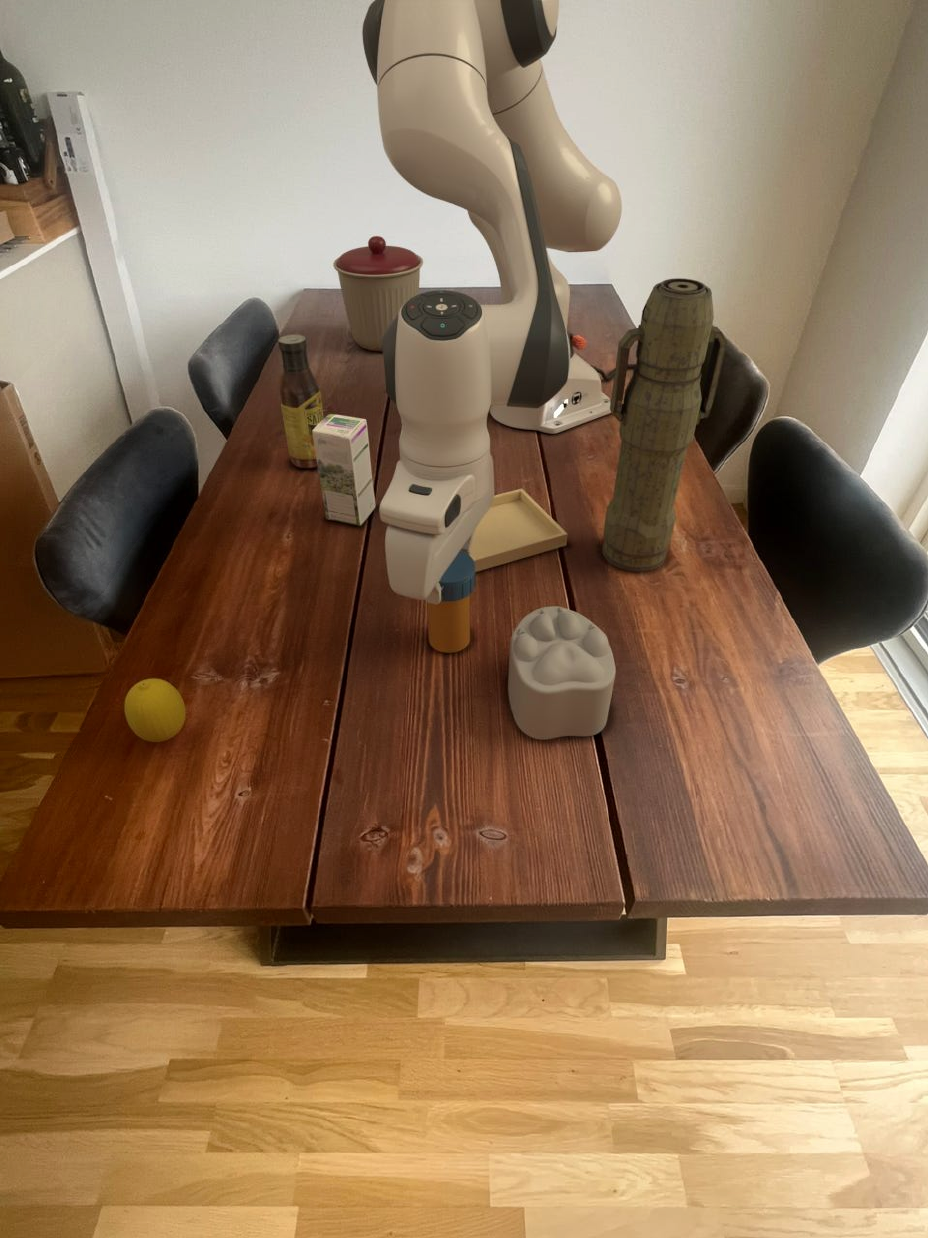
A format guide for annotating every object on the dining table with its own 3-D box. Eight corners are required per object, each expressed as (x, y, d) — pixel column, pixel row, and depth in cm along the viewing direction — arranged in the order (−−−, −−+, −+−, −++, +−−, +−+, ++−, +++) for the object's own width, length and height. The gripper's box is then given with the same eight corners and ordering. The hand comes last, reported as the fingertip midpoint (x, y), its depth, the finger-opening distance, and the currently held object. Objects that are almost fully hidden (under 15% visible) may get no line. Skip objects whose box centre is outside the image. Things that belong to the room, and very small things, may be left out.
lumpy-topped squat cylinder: (517, 741, 76) (520, 683, 70) (500, 654, 86) (503, 597, 80) (615, 734, 77) (627, 676, 71) (588, 648, 86) (596, 591, 81)
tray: (521, 499, 111) (521, 488, 110) (566, 545, 102) (567, 533, 101) (429, 523, 106) (428, 512, 105) (468, 574, 97) (468, 562, 96)
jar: (459, 620, 90) (459, 552, 83) (477, 645, 87) (478, 576, 80) (422, 632, 89) (418, 563, 82) (438, 658, 85) (436, 588, 78)
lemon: (145, 718, 79) (122, 665, 73) (198, 714, 79) (178, 662, 74) (132, 759, 74) (107, 706, 69) (188, 755, 75) (166, 702, 70)
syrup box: (377, 506, 110) (368, 416, 100) (360, 528, 105) (349, 436, 96) (342, 500, 111) (330, 410, 101) (324, 521, 107) (310, 429, 97)
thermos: (582, 538, 103) (615, 275, 80) (662, 530, 105) (717, 269, 82) (601, 576, 97) (643, 302, 74) (686, 567, 98) (753, 295, 75)
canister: (442, 337, 161) (439, 232, 147) (393, 365, 149) (385, 254, 135) (377, 322, 168) (368, 220, 154) (325, 348, 157) (311, 240, 143)
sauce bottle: (321, 472, 117) (303, 349, 104) (285, 468, 118) (261, 346, 105) (335, 452, 122) (318, 332, 109) (299, 449, 123) (279, 329, 110)
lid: (434, 563, 85) (434, 544, 83) (483, 575, 84) (483, 556, 82) (412, 594, 81) (411, 574, 79) (463, 607, 79) (462, 588, 78)
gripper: (456, 421, 81) (457, 525, 90) (369, 516, 67) (381, 629, 76) (510, 431, 79) (505, 536, 88) (432, 531, 65) (437, 644, 74)
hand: (447, 580), depth 82 cm, fingers closed on lid, 6 cm apart
